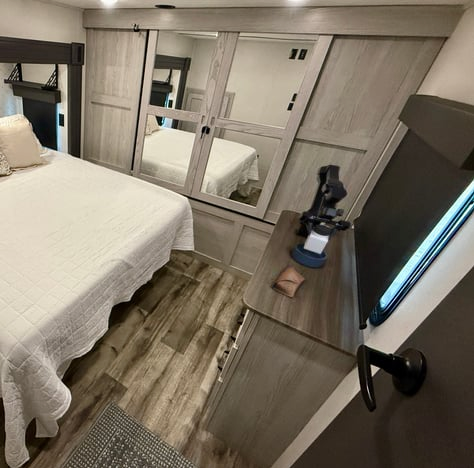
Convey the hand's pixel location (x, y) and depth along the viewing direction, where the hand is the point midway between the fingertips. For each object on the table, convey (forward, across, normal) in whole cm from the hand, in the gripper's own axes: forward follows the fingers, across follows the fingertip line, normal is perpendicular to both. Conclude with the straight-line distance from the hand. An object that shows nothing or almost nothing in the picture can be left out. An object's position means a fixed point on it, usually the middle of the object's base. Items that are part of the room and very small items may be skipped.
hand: (319, 237), depth 128 cm
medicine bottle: (+4, 0, +6) cm, 7 cm away
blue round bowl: (+8, 0, +10) cm, 13 cm away
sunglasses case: (+27, -8, -8) cm, 29 cm away
